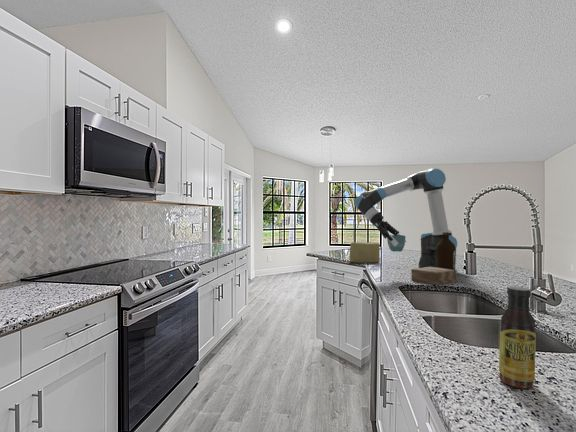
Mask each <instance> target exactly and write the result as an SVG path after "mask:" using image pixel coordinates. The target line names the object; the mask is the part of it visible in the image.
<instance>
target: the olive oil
mask: <svg viewBox="0 0 576 432" xmlns="http://www.w3.org/2000/svg"><path fill="white" fill-rule="evenodd" d="M436 257H437V268H445V269H452V270H456V261H457V260H456V259H457V258H456V257H457V248H456V247H455V245H454V244H453V243H452V242H451V241H450V240H449V233H448V232H443V239H442V240H441V241H440V242H439V243H438V244H437V246H436Z"/></svg>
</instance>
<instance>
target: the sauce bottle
mask: <svg viewBox="0 0 576 432" xmlns="http://www.w3.org/2000/svg"><path fill="white" fill-rule="evenodd" d="M506 293H507V308H506V310H505V311H504V313H503V315H502V316H501V318H500V329H499V352H498V353H499V354H498V355H499V357H498V358H499V361H498V372H499V379H500V381H501V382H502V383H504V384H505V385H507V386H510V387H513V388H516V389H517V388H518V389H532V388H533V387H534V381H535V379H536V378H535V377H536V351H537V349H536V345H537V344H536V343H537V342H536V341H537V340H536V339H537V331H536V321H535V318H534V316H533V314H532V313H531V311H530V310H531V309H530V308H531V307H530V298H531V295H532V294H531V288H528V287H522V286H514V285H513V286H508V287H507V291H506Z"/></svg>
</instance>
